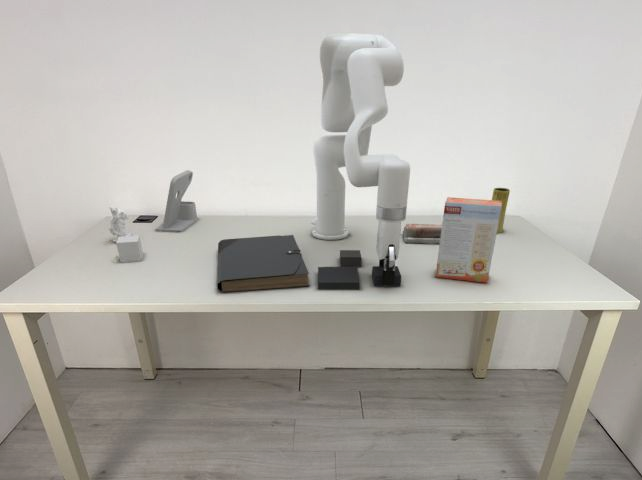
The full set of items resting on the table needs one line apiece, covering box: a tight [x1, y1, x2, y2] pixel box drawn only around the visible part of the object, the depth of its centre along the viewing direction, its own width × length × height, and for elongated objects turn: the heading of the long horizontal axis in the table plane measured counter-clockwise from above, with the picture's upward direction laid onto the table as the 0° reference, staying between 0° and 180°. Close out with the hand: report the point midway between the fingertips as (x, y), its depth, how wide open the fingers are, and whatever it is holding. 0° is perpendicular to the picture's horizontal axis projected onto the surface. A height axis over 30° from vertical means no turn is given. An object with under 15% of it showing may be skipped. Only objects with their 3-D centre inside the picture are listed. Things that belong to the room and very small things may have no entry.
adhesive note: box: [115, 234, 144, 263], centre depth 142 cm, size 6×6×6 cm
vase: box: [491, 187, 511, 234], centre depth 164 cm, size 6×6×14 cm
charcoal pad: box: [371, 265, 402, 287], centre depth 128 cm, size 7×7×3 cm
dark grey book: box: [216, 234, 310, 294], centre depth 136 cm, size 33×4×24 cm
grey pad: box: [339, 249, 362, 268], centre depth 139 cm, size 6×6×3 cm
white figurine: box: [108, 205, 133, 243], centre depth 154 cm, size 8×7×12 cm
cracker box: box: [435, 196, 502, 284], centre depth 126 cm, size 14×6×21 cm, turn 71°
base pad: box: [317, 266, 361, 290], centre depth 128 cm, size 11×11×2 cm
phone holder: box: [155, 169, 199, 233], centre depth 168 cm, size 17×10×18 cm, turn 172°
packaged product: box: [402, 223, 442, 245], centre depth 158 cm, size 18×5×10 cm
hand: (386, 277), depth 128 cm, fingers closed on charcoal pad, 7 cm apart
